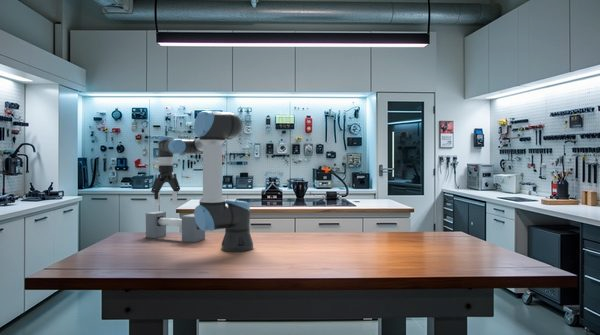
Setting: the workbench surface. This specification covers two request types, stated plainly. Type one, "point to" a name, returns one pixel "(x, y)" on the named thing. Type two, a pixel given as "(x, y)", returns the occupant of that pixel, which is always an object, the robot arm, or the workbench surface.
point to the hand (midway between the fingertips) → (166, 204)
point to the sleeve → (191, 229)
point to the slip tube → (169, 221)
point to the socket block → (155, 225)
